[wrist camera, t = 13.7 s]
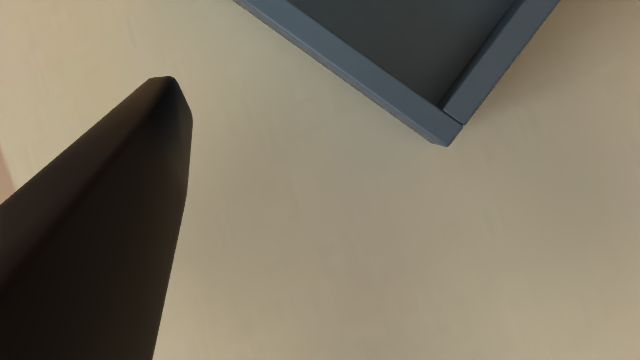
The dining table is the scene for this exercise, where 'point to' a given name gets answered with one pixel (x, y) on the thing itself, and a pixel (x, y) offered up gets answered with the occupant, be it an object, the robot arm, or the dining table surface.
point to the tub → (412, 50)
